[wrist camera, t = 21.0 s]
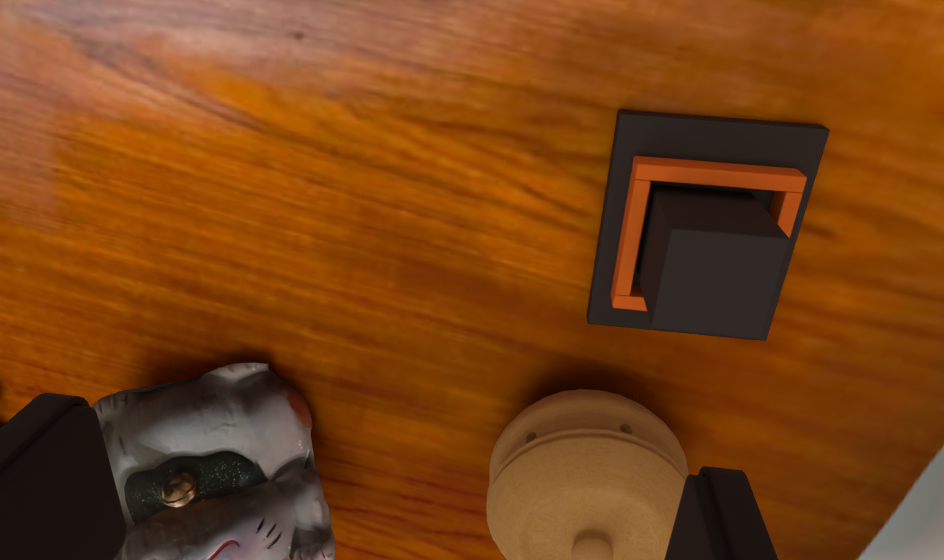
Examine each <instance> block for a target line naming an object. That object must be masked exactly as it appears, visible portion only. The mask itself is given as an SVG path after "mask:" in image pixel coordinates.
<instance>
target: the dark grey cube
mask: <svg viewBox="0 0 944 560" xmlns="http://www.w3.org/2000/svg"><path fill="white" fill-rule="evenodd" d="M789 240H790V239H789V237H788V236H787V235H786V234H785V232H784V231H783V230H782V229H781V228H780V226H779V225H778V224H777V223H776V222H775V220H774V219H773V218H772V217H771V216H770V215H769V213H768V212H767V211H766V210H765V209H764V207H763V206H762V205H761V204H760V203H759V201H758V200H757V199H756V198H755V197H754V196H753V194H752V193H747V192H735V191H723V190H711V189H699V188H687V187H675V186H663V185H652V188H651V194H650V199H649V204H648V210H647V215H646V220H645V226H644V231H643V236H642V242H641V247H640V252H639V258H638V263H637V269H636V272H637V276H638V279H639V283H640V287H641V290H642V294H643V298H644V301H645V305H646V309H647V312H648V316H649V319H650V323H651V326H652V327H657V328H667V329H677V330H687V331H697V332H708V333H718V334H728V335H738V336H748V337H761V334H762V331H763V328H764V324H765V321H766V318H767V314H768V311H769V307H770V304H771V301H772V297H773V294H774V291H775V287H776V284H777V281H778V277H779V274H780V271H781V267H782V264H783V261H784V257H785V254H786V251H787V247H788V244H789Z"/></svg>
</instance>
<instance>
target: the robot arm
mask: <svg viewBox="0 0 944 560" xmlns="http://www.w3.org/2000/svg"><path fill="white" fill-rule="evenodd" d="M126 531H127V528H126V522H125V518H124V515H123V511H122V507H121V503H120V499H119V496H118V492H117V488H116V484H115V480H114V476H113V473H112V469H111V465H110V461H109V457H108V453H107V450H106V446H105V442H104V438H103V434H102V431H101V427H100V423H99V419H98V415H97V413H96V410H95V409H93V408H92V407H90V406H89V404H88V402H87V401H86V400H85V399H84V398H83V397H78V396H70V395H61V394H52V393H44V394H41V395H39V396H37V397H36V398H34V399H33V400H32V401H31V402H30V403H29V404H28V405H26V406H25V407H24V408H23V409H22V410H21V411H20V412H18V413H17V414H16V415H15V416H14V417H13V418H11V419H10V420H9V421H8V422H7V423H6V424H5V425H3V426H2V427H1V428H0V560H113V559H114V558H115V557H116V555H117V554H118V552H119V551H120V549H121V548H122V546H123V543H124V541H125V537H126ZM664 560H778V558H777V556H776V553H775V550H774V548H773V545H772V542H771V540H770V537H769V534H768V532H767V529H766V526H765V524H764V521H763V518H762V516H761V513H760V511H759V508H758V505H757V503H756V500H755V497H754V495H753V492H752V489H751V487H750V484H749V481H748V479H747V477H746V475H745V473H744V472H743V471H742V470H733V469H724V468H715V467H706V466H704V467H702V468H701V469H700V472H699V474H698V475H688V476H687V478H686V481H685V484H684V488H683V492H682V496H681V499H680V503H679V507H678V511H677V514H676V518H675V522H674V525H673V529H672V533H671V537H670V540H669V544H668V548H667V552H666V555H665V559H664Z"/></svg>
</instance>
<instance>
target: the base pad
mask: <svg viewBox="0 0 944 560" xmlns="http://www.w3.org/2000/svg"><path fill="white" fill-rule="evenodd" d="M828 134H829V129H828V128H826V127H825V126H823V125H817V124H804V123H791V122H777V121H764V120H751V119H737V118H724V117H711V116H697V115H684V114H671V113H658V112H644V111H631V110H618V114H617V121H616V127H615V134H614V140H613V147H612V153H611V160H610V167H609V173H608V180H607V186H606V193H605V199H604V206H603V212H602V219H601V225H600V232H599V238H598V245H597V252H596V258H595V265H594V271H593V278H592V284H591V291H590V297H589V304H588V310H587V321H588V324H597V325H608V326H618V327H628V328H638V329H648V330H659V331H669V332H679V333H689V334H699V335H710V336H720V337H730V338H740V339H751V340H761V341H766V339H767V335H768V332H769V329H770V325H771V322H772V319H773V315H774V312H775V309H776V306H777V302H778V299H779V296H780V292H781V289H782V286H783V282H784V279H785V276H786V273H787V269H788V266H789V263H790V259H791V256H792V253H793V249H794V246H795V243H796V240H797V236H798V233H799V230H800V226H801V223H802V220H803V216H804V213H805V210H806V207H807V203H808V200H809V197H810V193H811V190H812V187H813V183H814V180H815V177H816V174H817V170H818V167H819V164H820V160H821V157H822V154H823V150H824V147H825V144H826V141H827V137H828ZM652 185H663V186H675V187H687V188H699V189H711V190H723V191H735V192H747V193H752V194H753V196H754V197H755V198H756V199H757V200H758V201H759V203H760V204H761V205H762V206H763V207H764V209H765V210H766V211H767V212H768V213H769V215H770V216H771V217H772V218H773V219H774V220H775V222H776V223H777V224H778V225H779V226H780V228H781V229H782V230H783V231H784V232H785V234H786V235H787V236H788V237H789V239H790V240H789V244H788V247H787V251H786V254H785V257H784V261H783V264H782V267H781V271H780V274H779V277H778V281H777V284H776V287H775V291H774V294H773V297H772V301H771V304H770V307H769V311H768V314H767V318H766V321H765V324H764V328H763V331H762V334H761V337H748V336H738V335H728V334H718V333H708V332H697V331H687V330H677V329H667V328H657V327H652V326H651V323H650V319H649V316H648V312H647V309H646V305H645V301H644V298H643V294H642V290H641V287H640V283H639V279H638V276H637V272H636V269H637V263H638V258H639V252H640V247H641V242H642V236H643V231H644V226H645V220H646V215H647V210H648V204H649V199H650V194H651V188H652Z"/></svg>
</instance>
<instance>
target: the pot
mask: <svg viewBox="0 0 944 560" xmlns="http://www.w3.org/2000/svg"><path fill="white" fill-rule="evenodd" d="M688 475H689V474H688V466H687V459H686V456H685V454H684V452H683V449H682V447H681V445H680V443H679V441H678V439H677V438H676V436H675V435H674V434H673V432H672V431H671V430H670V429H669V428H668V426H667V425H666V424H665V423H664V421H662V420H661V419H660V418H659V417H657V416H656V415H655V414H653V413H652V412H651V411H649V410H648V409H647V408H646V407H644V406H643V405H641V404H639V403H637V402H635V401H633V400H630V399H628V398H626V397H624V396H622V395H619V394H615V393H611V392H607V391H602V390H590V389H577V390H569V391H562V392H559V393H556V394H553V395H550V396H547V397H544V398H542V399H541V400H539V401H537V402H535V403H534V404H532V405H530V406H528V407H527V408H525V409H524V410H523V411H522V412H521V413H520V414H518V415H517V416H516V417H515V418H514V419H513V420H512V421H511V422H510V423H509V424H508V425H507V426H506V427H505V429H504V430H503V432H502V433H501V435H500V436H499V438H498V439H497V441H496V443H495V445H494V448H493V452H492V455H491V459H490V463H489V481H490V485H489V489H488V492H487V523H488V526H489V529H490V533H491V536H492V538H493V540H494V541H495V543H496V545H497V546H498V548H499V549H500V551H501V552H502V554H503V555H504V557H505V558H506V559H507V560H664V559H665V555H666V552H667V548H668V544H669V540H670V537H671V533H672V529H673V525H674V522H675V518H676V514H677V511H678V507H679V503H680V499H681V496H682V492H683V488H684V484H685V481H686V478H687V476H688Z"/></svg>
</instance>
